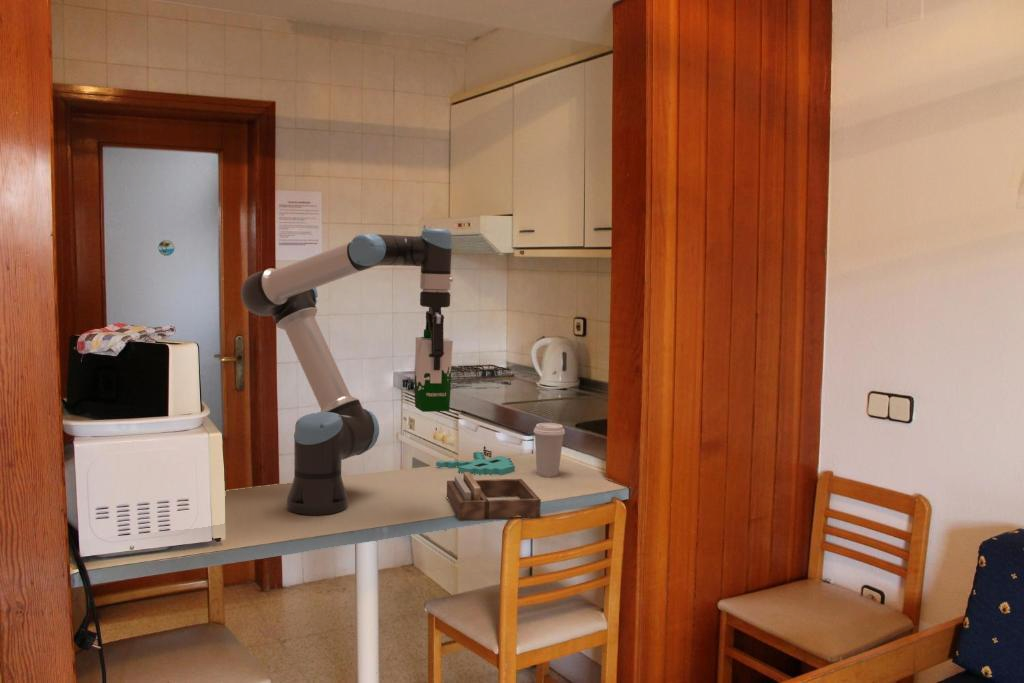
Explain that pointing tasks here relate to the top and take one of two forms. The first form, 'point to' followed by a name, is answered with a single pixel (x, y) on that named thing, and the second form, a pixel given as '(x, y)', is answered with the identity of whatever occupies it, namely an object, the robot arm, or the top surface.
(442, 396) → the soya milk
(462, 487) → the grey offcut
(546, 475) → the coffee cup
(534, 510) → the offcut rack
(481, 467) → the alien figure
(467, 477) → the birch offcut
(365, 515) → the top surface
